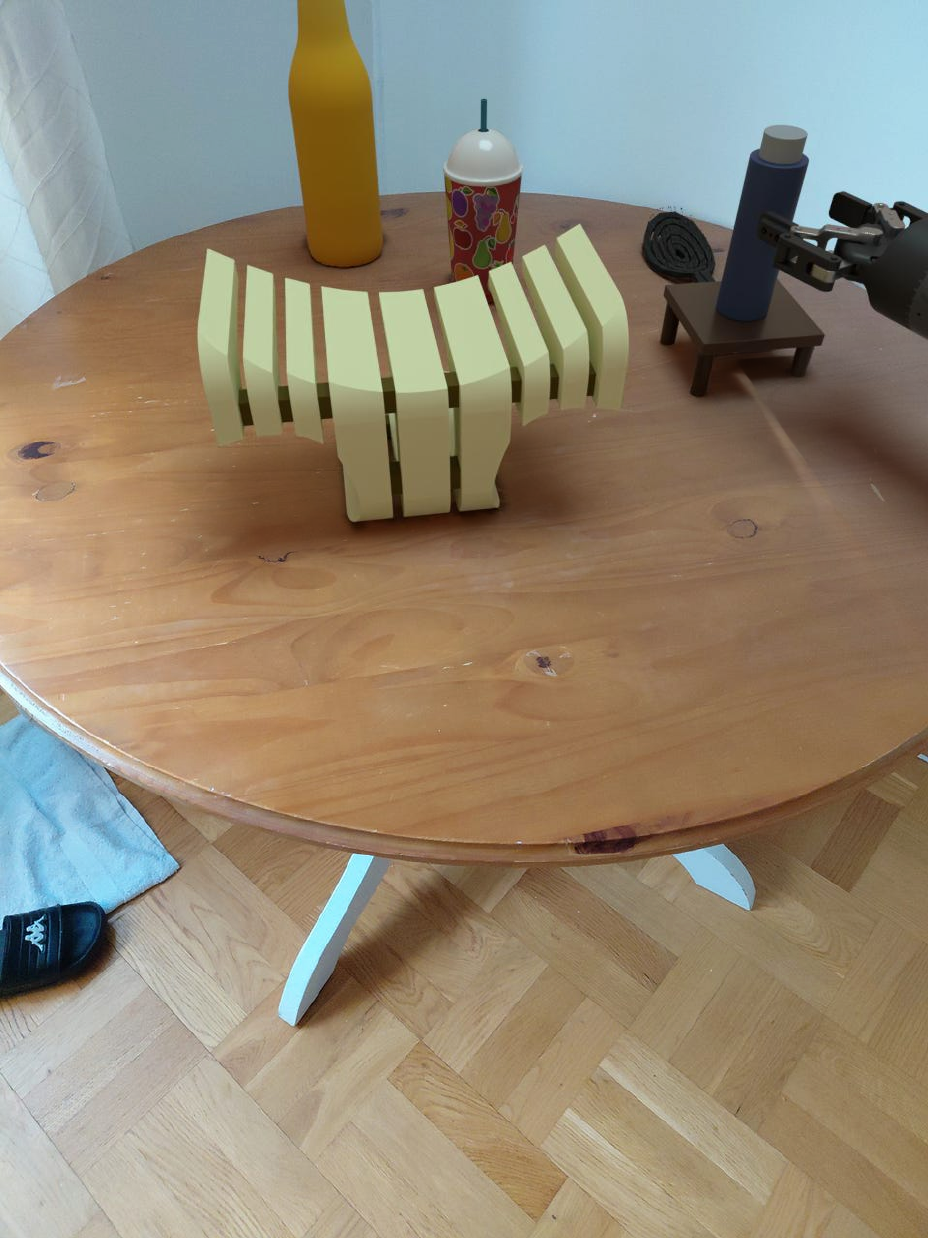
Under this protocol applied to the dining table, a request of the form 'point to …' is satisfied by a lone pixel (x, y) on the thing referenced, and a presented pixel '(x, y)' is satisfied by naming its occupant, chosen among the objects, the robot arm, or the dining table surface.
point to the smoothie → (482, 202)
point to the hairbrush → (678, 248)
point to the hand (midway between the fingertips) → (798, 212)
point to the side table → (736, 328)
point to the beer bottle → (334, 138)
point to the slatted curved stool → (417, 371)
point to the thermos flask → (764, 189)
